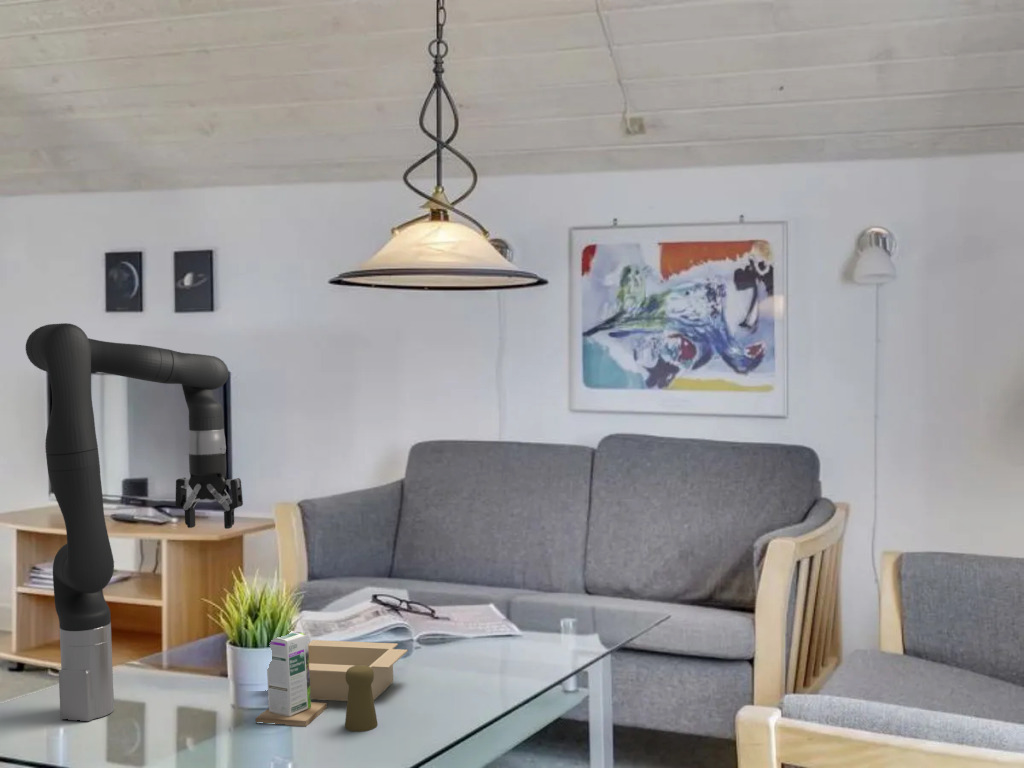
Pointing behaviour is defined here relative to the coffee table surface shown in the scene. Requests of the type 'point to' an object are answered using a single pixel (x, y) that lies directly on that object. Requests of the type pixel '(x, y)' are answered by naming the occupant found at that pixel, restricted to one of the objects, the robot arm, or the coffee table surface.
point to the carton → (339, 656)
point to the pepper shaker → (360, 699)
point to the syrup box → (289, 674)
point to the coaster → (295, 720)
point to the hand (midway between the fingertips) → (209, 527)
